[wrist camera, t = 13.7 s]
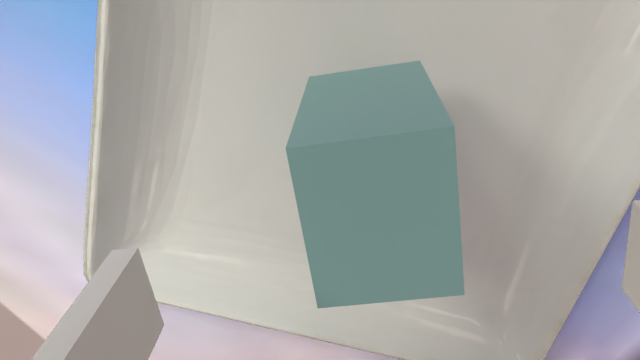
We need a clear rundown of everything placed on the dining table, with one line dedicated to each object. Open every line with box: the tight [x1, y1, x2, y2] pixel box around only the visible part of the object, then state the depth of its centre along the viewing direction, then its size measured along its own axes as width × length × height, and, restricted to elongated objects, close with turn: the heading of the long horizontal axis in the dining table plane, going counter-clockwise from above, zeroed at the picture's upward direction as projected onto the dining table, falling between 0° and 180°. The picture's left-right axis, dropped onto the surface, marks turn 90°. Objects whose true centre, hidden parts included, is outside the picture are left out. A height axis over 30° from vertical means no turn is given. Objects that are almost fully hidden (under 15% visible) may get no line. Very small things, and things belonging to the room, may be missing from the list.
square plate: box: [84, 0, 640, 360], centre depth 27 cm, size 27×27×4 cm
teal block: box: [286, 60, 465, 308], centre depth 21 cm, size 5×6×9 cm
